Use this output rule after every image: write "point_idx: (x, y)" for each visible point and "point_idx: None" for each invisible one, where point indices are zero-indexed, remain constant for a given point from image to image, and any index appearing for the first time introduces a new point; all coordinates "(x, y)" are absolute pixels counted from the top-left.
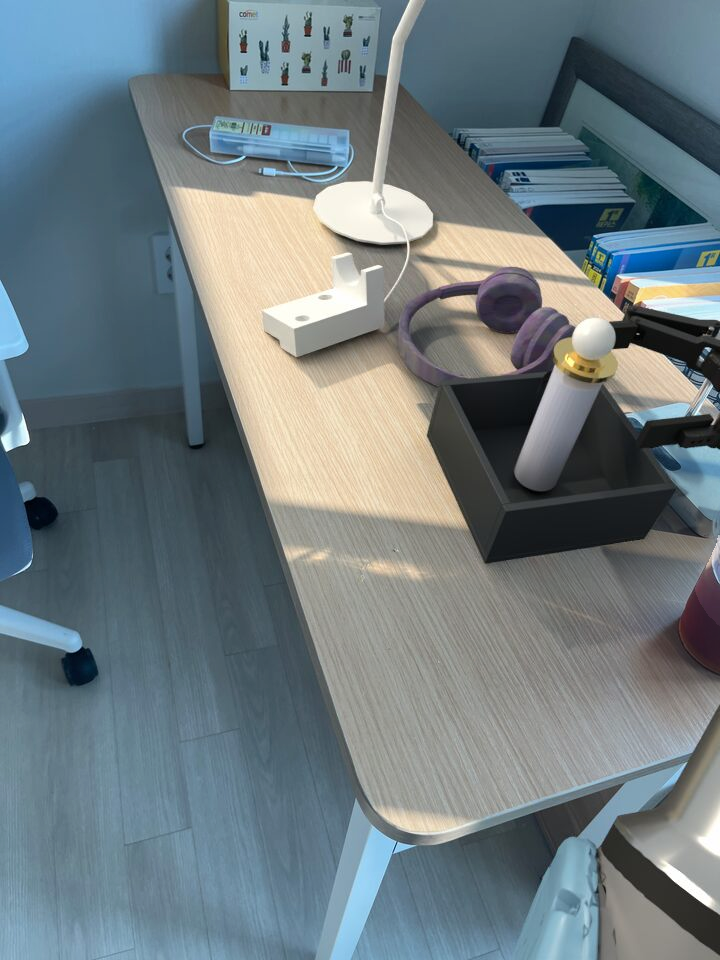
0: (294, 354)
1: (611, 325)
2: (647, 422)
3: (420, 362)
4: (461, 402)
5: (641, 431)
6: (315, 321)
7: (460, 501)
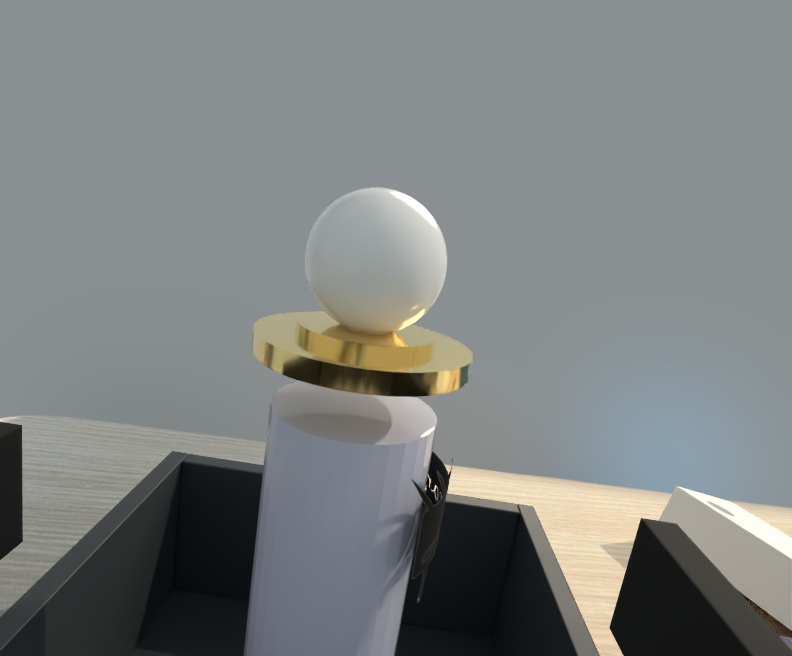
0: None
1: (373, 199)
2: (13, 426)
3: None
4: (518, 588)
5: (19, 478)
6: (714, 509)
7: None
